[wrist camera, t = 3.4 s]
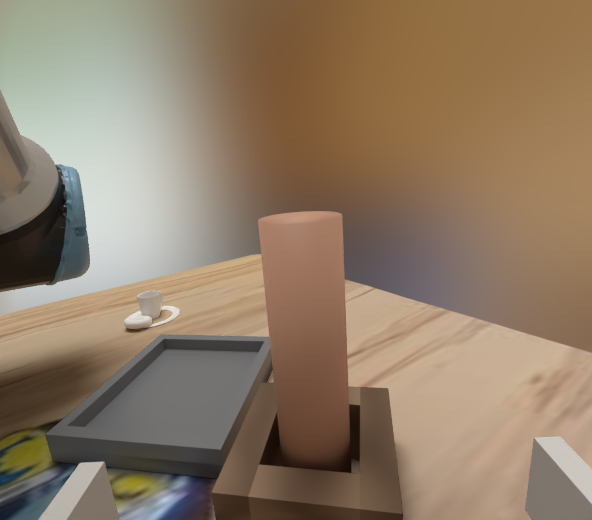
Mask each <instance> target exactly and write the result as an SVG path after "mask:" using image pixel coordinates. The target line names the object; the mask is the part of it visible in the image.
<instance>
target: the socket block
mask: <svg viewBox="0 0 592 520" xmlns="http://www.w3.org/2000/svg"><path fill="white" fill-rule="evenodd" d="M348 392H349V420H350V448H351V458H360V474H355V473H345V472H334V471H323V470H312V469H302V468H291V467H282V458H281V448H280V437H279V427H278V417H277V407H276V397H275V387H274V383H262V382H261V384H260V386H259V389H258V391H257V393H256V395H255V397H254V400H253V402H252V404H251V406H250V409H249V411H248V413H247V415H246V417H245V420H244V422H243V424H242V426H241V428H240V431H239V433H238V435H237V437H236V439H235V442H234V444H233V446H232V448H231V450H230V453H229V455H228V457H227V459H226V462H225V464H224V466H223V468H222V470H221V473H220V475H219V477H218V479H217V481H216V484H215V486H214V488H213V490H212V492H211V493H212V499H213V505H214V511H215V517H216V520H403V512H402V503H401V494H400V486H399V477H398V469H397V460H396V452H395V443H394V434H393V426H392V417H391V409H390V400H389V392H388V388H368V387H348Z"/></svg>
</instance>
